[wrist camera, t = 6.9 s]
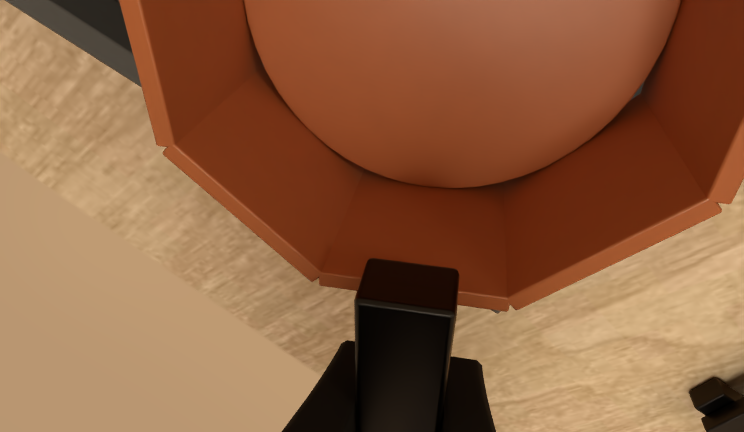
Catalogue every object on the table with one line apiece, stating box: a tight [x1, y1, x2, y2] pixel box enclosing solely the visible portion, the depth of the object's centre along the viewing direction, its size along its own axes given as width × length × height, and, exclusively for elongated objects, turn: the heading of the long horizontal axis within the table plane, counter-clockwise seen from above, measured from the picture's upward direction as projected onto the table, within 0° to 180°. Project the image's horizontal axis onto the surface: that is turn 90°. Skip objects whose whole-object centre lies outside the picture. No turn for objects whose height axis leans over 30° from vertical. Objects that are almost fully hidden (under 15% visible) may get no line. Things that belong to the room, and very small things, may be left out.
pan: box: [119, 0, 744, 432], centre depth 9 cm, size 15×8×4 cm, turn 179°
